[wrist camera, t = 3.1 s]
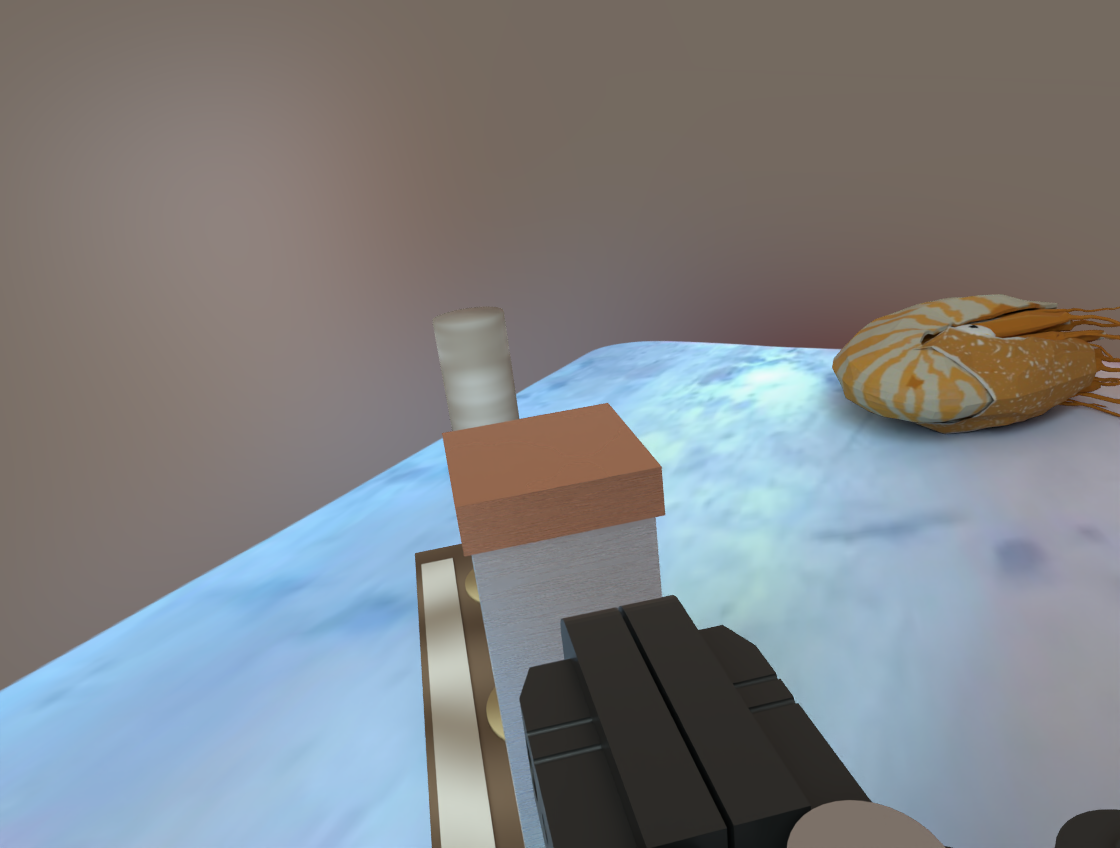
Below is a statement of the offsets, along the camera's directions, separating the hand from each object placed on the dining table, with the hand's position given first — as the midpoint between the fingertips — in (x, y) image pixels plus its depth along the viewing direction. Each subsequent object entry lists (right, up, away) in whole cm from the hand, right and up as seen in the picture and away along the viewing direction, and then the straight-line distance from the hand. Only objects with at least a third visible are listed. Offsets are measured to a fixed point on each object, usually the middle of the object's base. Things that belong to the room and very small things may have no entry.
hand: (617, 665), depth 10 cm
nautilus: (+29, +3, +41) cm, 50 cm away
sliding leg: (0, -10, +10) cm, 14 cm away
